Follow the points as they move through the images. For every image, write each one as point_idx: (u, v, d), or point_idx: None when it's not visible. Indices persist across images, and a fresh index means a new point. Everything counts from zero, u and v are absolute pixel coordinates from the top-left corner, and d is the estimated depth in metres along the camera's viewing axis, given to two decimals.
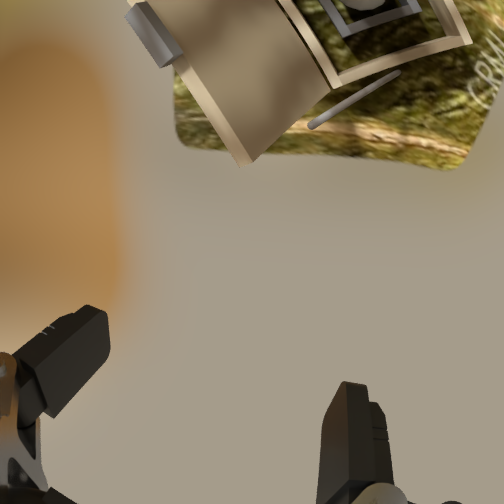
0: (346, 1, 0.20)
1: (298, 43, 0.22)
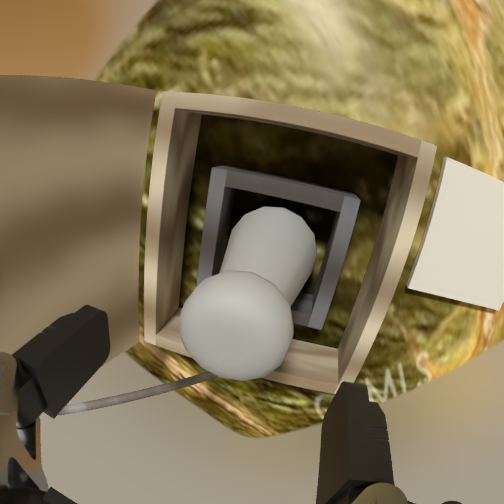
0: None
1: (125, 287, 0.19)
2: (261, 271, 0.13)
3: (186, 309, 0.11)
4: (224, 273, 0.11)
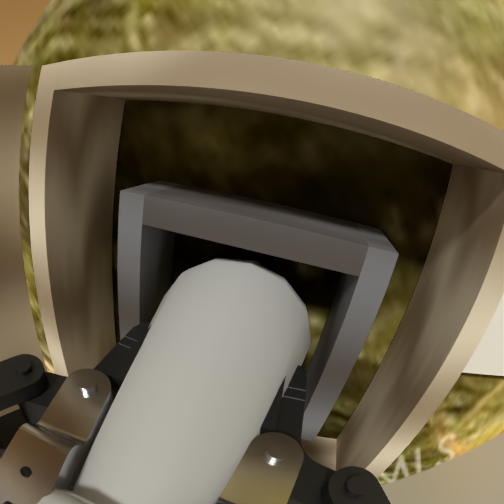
0: None
1: None
2: (159, 478, 0.04)
3: None
4: None
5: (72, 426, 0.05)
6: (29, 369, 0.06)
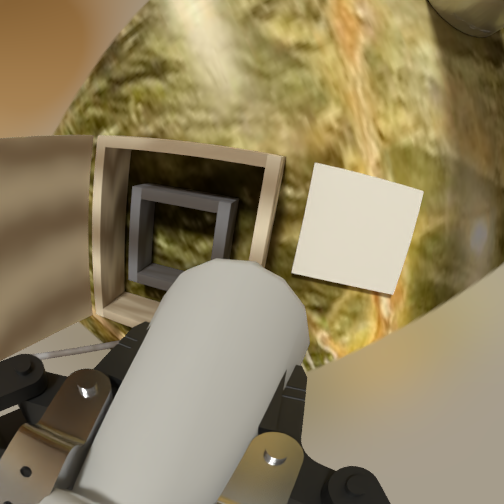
0: None
1: (78, 271, 0.26)
2: (156, 477, 0.04)
3: None
4: None
5: (72, 426, 0.05)
6: (29, 369, 0.06)
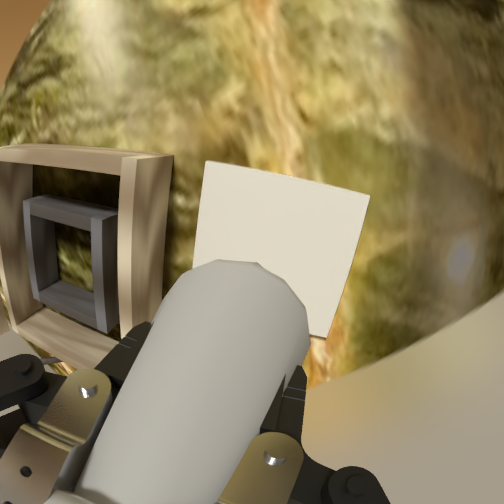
0: None
1: None
2: (159, 479, 0.04)
3: None
4: None
5: (72, 426, 0.05)
6: (29, 369, 0.06)
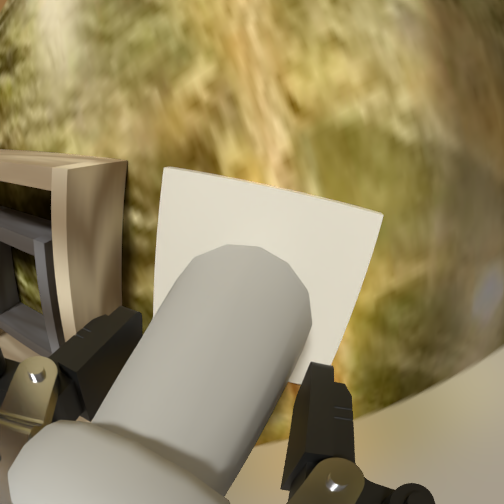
0: None
1: None
2: (175, 412, 0.05)
3: None
4: (65, 438, 0.03)
5: (29, 410, 0.05)
6: None
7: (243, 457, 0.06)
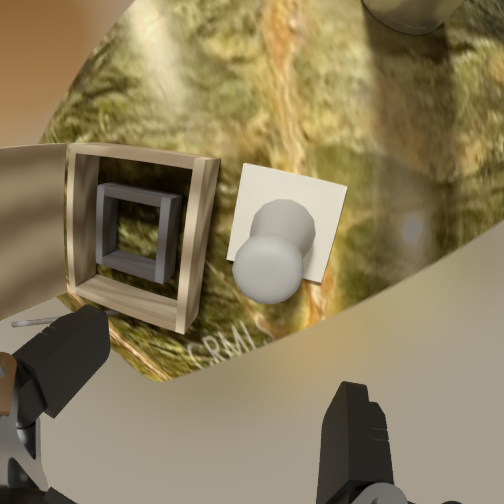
0: None
1: (55, 254, 0.30)
2: (282, 235, 0.20)
3: (240, 254, 0.18)
4: (262, 233, 0.18)
5: None
6: None
7: None
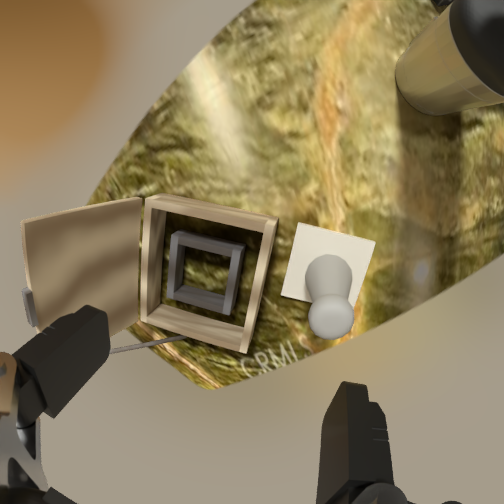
0: (307, 287, 0.36)
1: (131, 292, 0.39)
2: (338, 292, 0.29)
3: (316, 310, 0.26)
4: (329, 295, 0.27)
5: None
6: None
7: None
